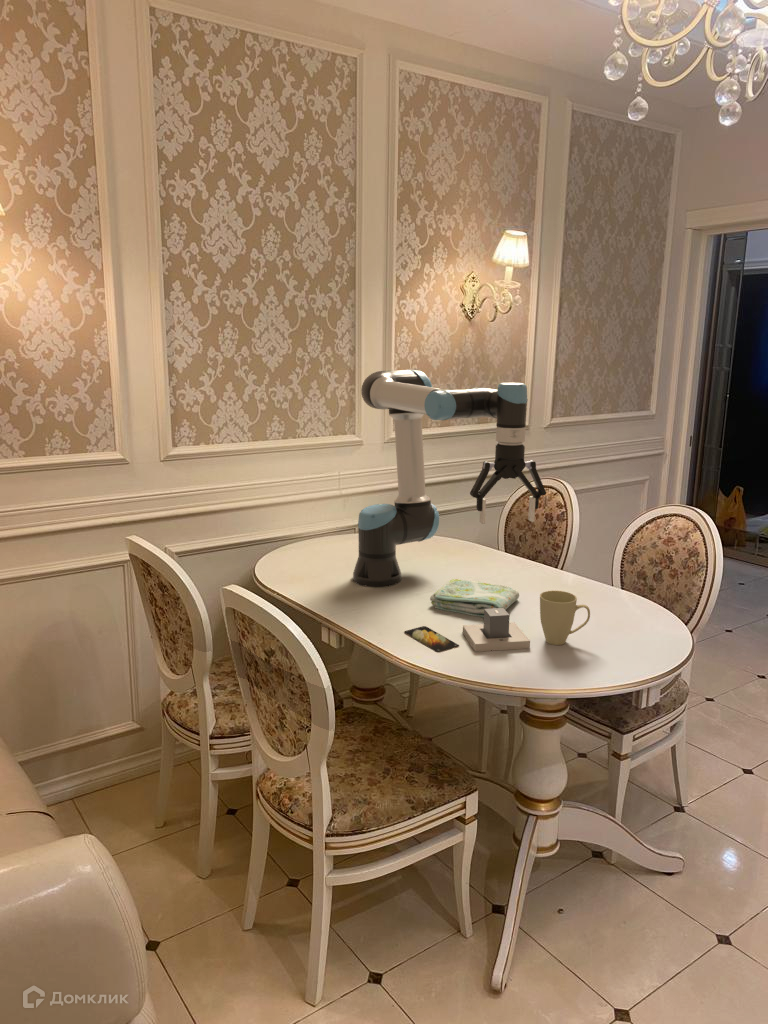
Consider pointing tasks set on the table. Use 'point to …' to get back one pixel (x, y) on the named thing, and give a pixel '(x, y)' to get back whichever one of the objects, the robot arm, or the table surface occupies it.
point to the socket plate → (495, 639)
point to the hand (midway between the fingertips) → (506, 521)
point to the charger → (496, 623)
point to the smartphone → (431, 639)
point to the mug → (559, 615)
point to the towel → (473, 597)
